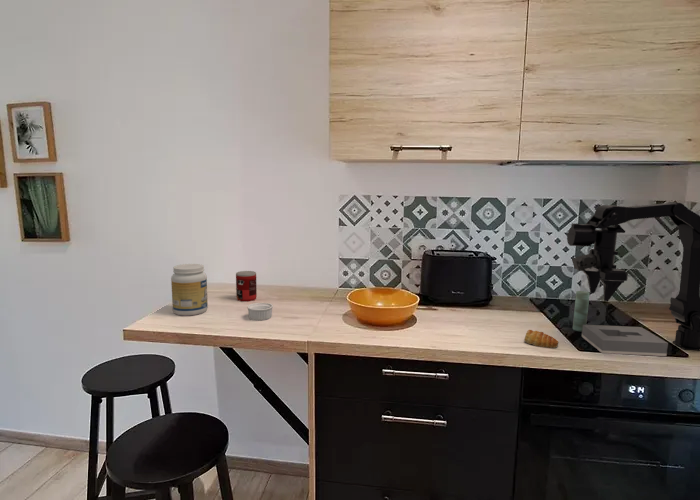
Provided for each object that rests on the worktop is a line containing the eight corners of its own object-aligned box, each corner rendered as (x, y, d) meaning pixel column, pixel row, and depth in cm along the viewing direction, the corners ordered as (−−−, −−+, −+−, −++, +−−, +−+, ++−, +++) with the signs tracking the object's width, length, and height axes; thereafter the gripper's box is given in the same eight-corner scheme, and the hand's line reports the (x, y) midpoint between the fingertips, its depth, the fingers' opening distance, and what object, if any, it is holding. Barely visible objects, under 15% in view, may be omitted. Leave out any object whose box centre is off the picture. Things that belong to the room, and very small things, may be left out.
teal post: (582, 327, 154) (586, 291, 152) (587, 331, 150) (591, 294, 148) (570, 327, 154) (574, 290, 152) (575, 331, 151) (579, 293, 148)
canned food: (235, 297, 184) (235, 271, 182) (255, 296, 187) (255, 270, 185) (237, 302, 177) (236, 275, 175) (257, 301, 179) (257, 274, 178)
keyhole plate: (639, 339, 144) (641, 327, 144) (666, 356, 130) (668, 343, 130) (581, 336, 146) (582, 324, 145) (601, 353, 132) (603, 340, 131)
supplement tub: (210, 314, 162) (208, 268, 159) (174, 318, 156) (171, 270, 154) (205, 305, 172) (203, 262, 170) (171, 308, 167) (169, 264, 164)
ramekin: (249, 322, 154) (249, 310, 153) (245, 315, 162) (245, 303, 161) (275, 320, 157) (275, 308, 156) (270, 312, 165) (269, 301, 164)
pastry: (560, 345, 138) (561, 333, 138) (554, 351, 133) (555, 339, 132) (528, 338, 144) (529, 326, 143) (522, 344, 139) (523, 332, 138)
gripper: (565, 241, 145) (560, 288, 148) (590, 251, 127) (584, 304, 130) (600, 242, 145) (595, 289, 147) (631, 252, 126) (625, 305, 129)
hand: (598, 296), depth 138 cm, fingers open, 9 cm apart
